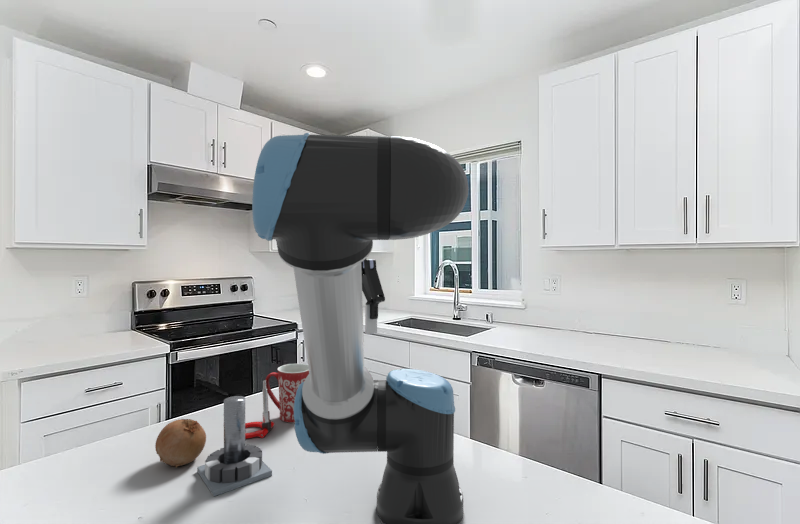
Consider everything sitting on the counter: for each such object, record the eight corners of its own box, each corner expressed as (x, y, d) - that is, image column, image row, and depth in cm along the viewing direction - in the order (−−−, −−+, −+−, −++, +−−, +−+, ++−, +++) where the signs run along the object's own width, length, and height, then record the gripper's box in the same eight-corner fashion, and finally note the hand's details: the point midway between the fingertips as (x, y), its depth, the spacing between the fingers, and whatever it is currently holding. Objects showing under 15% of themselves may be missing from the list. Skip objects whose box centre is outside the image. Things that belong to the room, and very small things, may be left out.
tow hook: (225, 440, 98) (263, 440, 97) (222, 387, 98) (261, 386, 97) (240, 426, 106) (276, 425, 106) (238, 376, 106) (273, 375, 105)
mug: (316, 412, 115) (316, 364, 114) (303, 425, 106) (303, 373, 105) (274, 408, 117) (274, 361, 116) (258, 421, 108) (258, 370, 108)
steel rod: (248, 469, 82) (248, 399, 82) (227, 476, 79) (227, 404, 79) (241, 461, 85) (241, 394, 85) (221, 467, 83) (221, 398, 82)
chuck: (272, 475, 82) (272, 458, 82) (213, 496, 75) (213, 477, 74) (251, 454, 90) (251, 438, 90) (197, 471, 83) (197, 454, 83)
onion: (200, 473, 88) (221, 432, 88) (156, 481, 80) (179, 436, 80) (182, 445, 93) (202, 406, 93) (140, 450, 86) (161, 407, 86)
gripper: (401, 237, 88) (400, 335, 89) (339, 239, 107) (338, 320, 108) (373, 236, 83) (372, 339, 84) (313, 239, 102) (313, 323, 103)
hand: (353, 329), depth 96 cm, fingers open, 13 cm apart
